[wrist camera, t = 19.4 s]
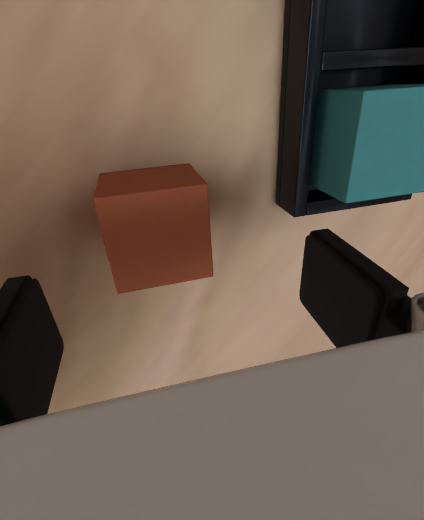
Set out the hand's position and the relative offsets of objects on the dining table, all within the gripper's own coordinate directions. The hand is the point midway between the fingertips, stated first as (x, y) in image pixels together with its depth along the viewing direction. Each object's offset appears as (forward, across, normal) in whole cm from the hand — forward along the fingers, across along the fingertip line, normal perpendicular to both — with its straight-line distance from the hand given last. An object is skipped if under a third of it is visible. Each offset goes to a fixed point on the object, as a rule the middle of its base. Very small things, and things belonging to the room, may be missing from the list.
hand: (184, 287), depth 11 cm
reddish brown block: (+9, +1, 0) cm, 9 cm away
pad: (+8, -11, -3) cm, 14 cm away
